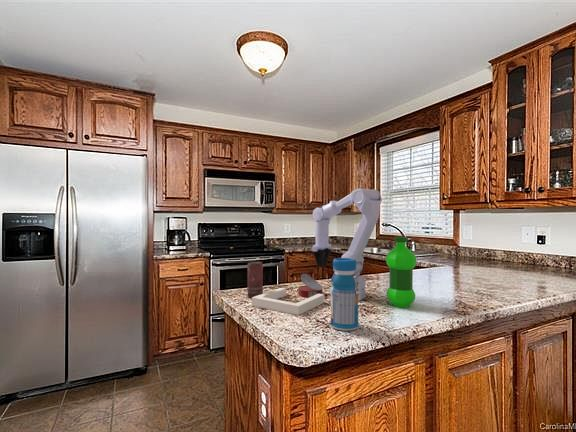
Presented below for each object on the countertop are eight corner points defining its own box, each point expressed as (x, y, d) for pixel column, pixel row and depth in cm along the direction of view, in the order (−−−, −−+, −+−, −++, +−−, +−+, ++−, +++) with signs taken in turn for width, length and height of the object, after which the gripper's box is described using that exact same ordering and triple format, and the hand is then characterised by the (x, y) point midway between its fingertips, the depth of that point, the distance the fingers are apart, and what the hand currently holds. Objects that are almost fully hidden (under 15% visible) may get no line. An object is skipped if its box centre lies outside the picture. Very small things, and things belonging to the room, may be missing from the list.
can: (260, 299, 126) (260, 263, 126) (245, 298, 127) (245, 262, 127) (265, 295, 132) (265, 261, 132) (250, 294, 133) (250, 260, 133)
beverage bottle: (340, 333, 90) (340, 262, 90) (324, 324, 97) (324, 258, 97) (364, 329, 93) (365, 260, 93) (348, 320, 101) (348, 256, 101)
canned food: (312, 302, 138) (321, 281, 140) (322, 306, 128) (331, 283, 131) (290, 292, 135) (299, 270, 137) (298, 295, 126) (308, 271, 128)
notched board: (324, 302, 121) (324, 294, 121) (298, 315, 106) (298, 306, 106) (281, 294, 132) (281, 287, 132) (251, 305, 117) (251, 297, 117)
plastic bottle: (403, 311, 110) (404, 238, 110) (380, 304, 119) (380, 236, 119) (422, 306, 116) (422, 237, 115) (398, 300, 124) (398, 235, 124)
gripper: (321, 234, 149) (321, 263, 149) (305, 236, 137) (305, 267, 137) (335, 234, 145) (335, 264, 145) (320, 236, 133) (320, 269, 133)
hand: (322, 266), depth 141 cm, fingers open, 3 cm apart
